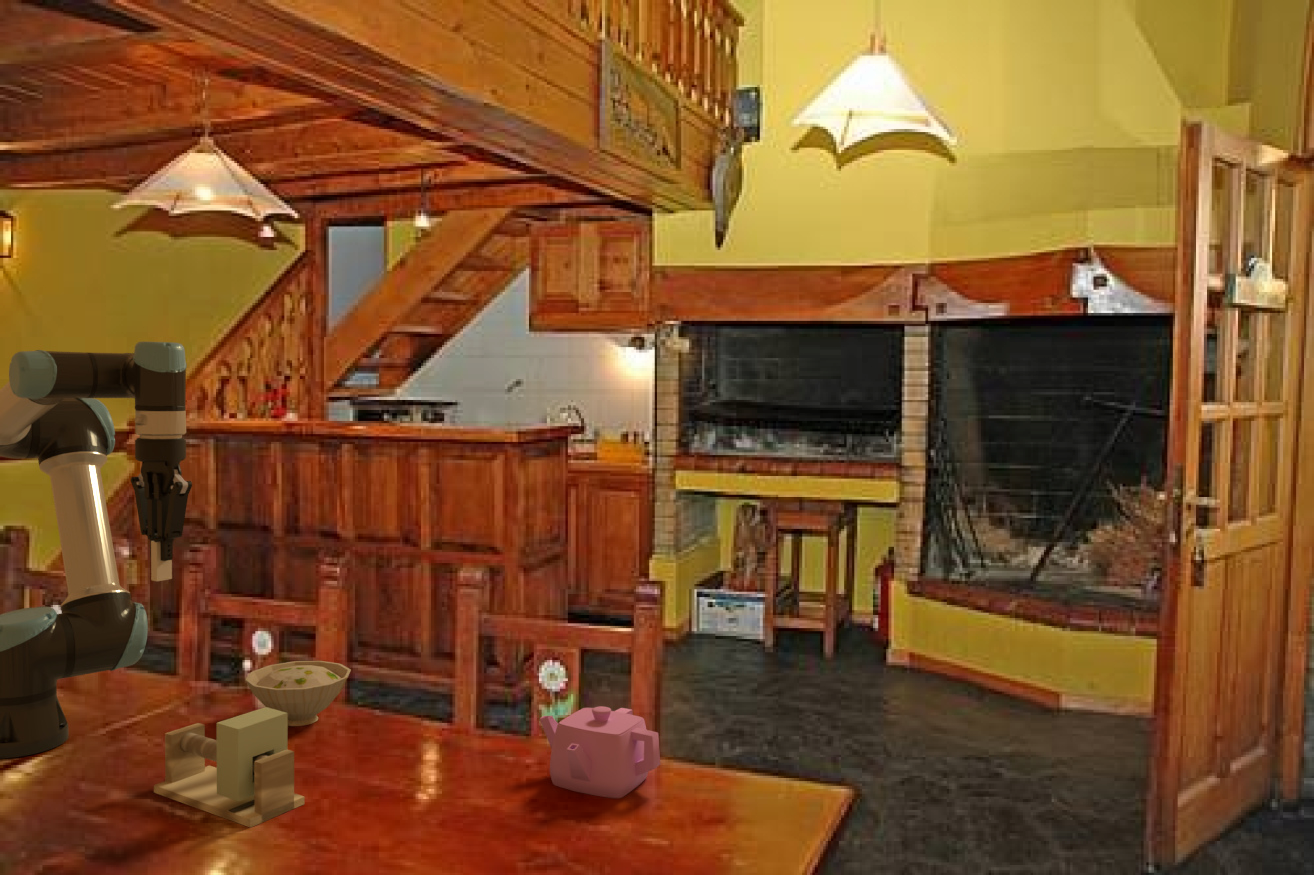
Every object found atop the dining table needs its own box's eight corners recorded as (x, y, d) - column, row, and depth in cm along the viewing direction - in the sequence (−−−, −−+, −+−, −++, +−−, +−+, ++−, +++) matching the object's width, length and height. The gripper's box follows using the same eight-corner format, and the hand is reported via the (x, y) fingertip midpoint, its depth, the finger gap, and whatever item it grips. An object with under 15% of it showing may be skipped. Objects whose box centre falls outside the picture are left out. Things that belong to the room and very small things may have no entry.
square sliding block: (216, 793, 158) (216, 722, 157) (266, 774, 166) (265, 707, 165) (238, 801, 156) (238, 729, 155) (287, 781, 163) (287, 712, 163)
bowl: (311, 697, 214) (311, 649, 213) (372, 717, 203) (372, 667, 202) (224, 722, 198) (224, 670, 198) (285, 745, 187) (285, 690, 187)
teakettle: (665, 794, 170) (667, 719, 169) (564, 807, 164) (566, 730, 163) (630, 757, 186) (631, 689, 185) (537, 768, 180) (538, 697, 179)
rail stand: (153, 792, 165) (153, 736, 165) (209, 772, 174) (208, 719, 173) (250, 827, 154) (250, 767, 153) (304, 804, 162) (304, 747, 162)
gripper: (114, 435, 170) (116, 578, 172) (164, 439, 164) (165, 588, 165) (157, 433, 177) (158, 571, 178) (206, 437, 170) (207, 580, 172)
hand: (161, 579), depth 172 cm, fingers closed
